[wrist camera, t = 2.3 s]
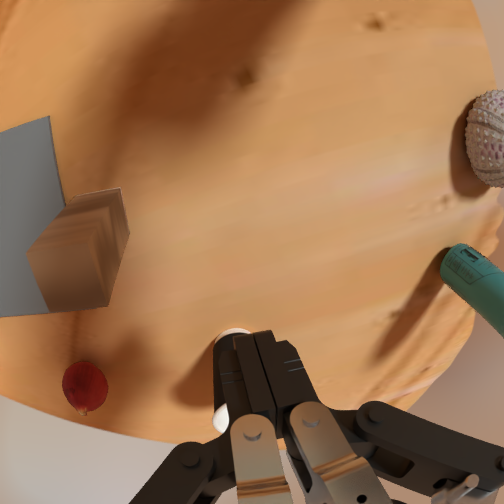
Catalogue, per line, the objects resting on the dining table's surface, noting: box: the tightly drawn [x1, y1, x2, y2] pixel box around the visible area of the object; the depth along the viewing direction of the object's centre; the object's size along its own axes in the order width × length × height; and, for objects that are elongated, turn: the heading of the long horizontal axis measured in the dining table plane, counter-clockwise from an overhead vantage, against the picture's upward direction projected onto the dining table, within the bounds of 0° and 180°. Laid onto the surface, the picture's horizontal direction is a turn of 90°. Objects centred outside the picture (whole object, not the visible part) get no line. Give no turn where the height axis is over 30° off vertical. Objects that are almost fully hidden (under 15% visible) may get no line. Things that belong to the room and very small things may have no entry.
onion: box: [62, 361, 108, 416], centre depth 30 cm, size 6×6×8 cm
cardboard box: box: [26, 187, 130, 312], centre depth 21 cm, size 4×4×11 cm
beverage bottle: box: [440, 243, 504, 338], centre depth 29 cm, size 6×7×20 cm
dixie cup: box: [212, 328, 250, 433], centre depth 32 cm, size 8×8×11 cm
